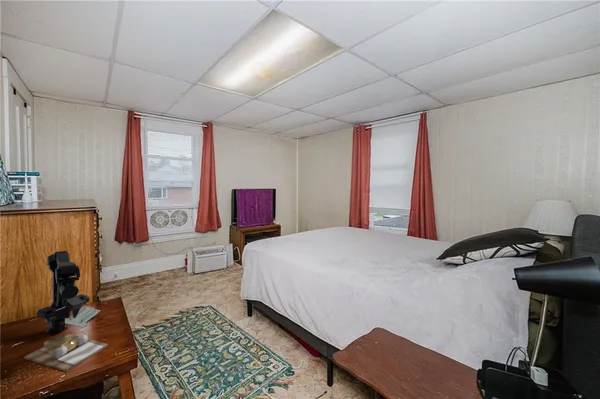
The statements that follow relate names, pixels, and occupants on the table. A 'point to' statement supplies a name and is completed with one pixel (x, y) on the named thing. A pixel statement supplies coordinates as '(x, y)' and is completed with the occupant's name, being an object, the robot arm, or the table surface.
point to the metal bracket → (82, 317)
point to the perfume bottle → (60, 343)
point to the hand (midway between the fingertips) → (63, 322)
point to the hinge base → (67, 353)
